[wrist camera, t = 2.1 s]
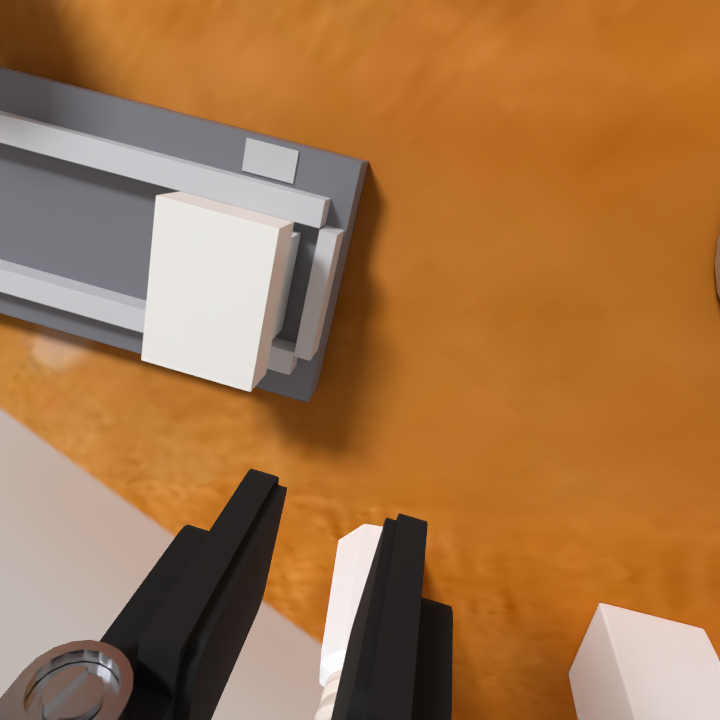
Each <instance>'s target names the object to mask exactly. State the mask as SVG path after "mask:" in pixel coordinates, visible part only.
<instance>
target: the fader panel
mask: <svg viewBox="0 0 720 720" xmlns="http://www.w3.org/2000/svg"><path fill="white" fill-rule="evenodd" d="M368 162H369V161H365V160H361V159H357V158H354V157H350V156H346V155H342V154H338V153H334V152H330V151H327V150H323V149H319V148H315V147H311V146H307V145H303V144H300V143H296V142H292V141H288V140H284V139H280V138H276V137H273V136H269V135H265V134H261V133H257V132H253V131H249V130H246V129H242V128H238V127H234V126H230V125H226V124H222V123H219V122H215V121H211V120H207V119H203V118H199V117H195V116H192V115H188V114H184V113H180V112H176V111H172V110H168V109H165V108H161V107H157V106H153V105H149V104H145V103H141V102H138V101H134V100H130V99H126V98H122V97H118V96H114V95H111V94H107V93H103V92H99V91H95V90H91V89H87V88H84V87H80V86H76V85H72V84H68V83H64V82H60V81H57V80H53V79H49V78H45V77H41V76H37V75H33V74H30V73H26V72H22V71H18V70H14V69H10V68H6V67H3V66H0V313H2V314H5V315H9V316H12V317H15V318H19V319H22V320H26V321H29V322H33V323H36V324H39V325H43V326H46V327H50V328H53V329H57V330H60V331H64V332H67V333H70V334H74V335H77V336H81V337H84V338H88V339H91V340H94V341H98V342H101V343H105V344H108V345H112V346H115V347H118V348H122V349H125V350H129V351H132V352H136V353H139V354H142V345H143V334H144V323H145V312H146V301H147V289H148V278H149V267H150V256H151V245H152V234H153V223H154V211H155V200H156V195H161V194H167V193H174V192H180V191H181V192H185V193H189V194H192V195H196V196H200V197H203V198H207V199H211V200H215V201H218V202H222V203H226V204H229V205H233V206H237V207H241V208H244V209H248V210H252V211H255V212H259V213H263V214H267V215H270V216H274V217H278V218H281V219H285V220H289V221H293V222H294V226H293V231H296V232H300V233H301V235H300V240H299V245H298V250H297V256H296V261H295V266H294V271H293V276H292V282H291V287H290V292H289V297H288V302H287V308H286V313H285V318H284V323H283V329H282V330H281V331H280V332H279V333H278V334H277V335H276V336H275V337H274V338H273V339H272V344H271V350H270V355H269V360H268V366H267V371H266V375H265V376H264V377H263V378H262V379H261V380H260V382H259V383H258V384H257V385H256V386H255V387H256V388H259V389H263V390H266V391H270V392H273V393H276V394H280V395H283V396H287V397H290V398H294V399H297V400H301V401H304V402H307V403H308V402H309V400H310V399H311V397H312V395H313V394H314V392H315V390H316V389H317V386H318V382H319V377H320V373H321V369H322V364H323V360H324V355H325V351H326V347H327V342H328V338H329V333H330V329H331V325H332V320H333V316H334V311H335V307H336V303H337V298H338V294H339V289H340V285H341V280H342V276H343V272H344V267H345V263H346V258H347V254H348V250H349V245H350V241H351V236H352V232H353V228H354V223H355V219H356V214H357V210H358V206H359V201H360V197H361V192H362V188H363V184H364V179H365V175H366V170H367V166H368Z"/></svg>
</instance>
